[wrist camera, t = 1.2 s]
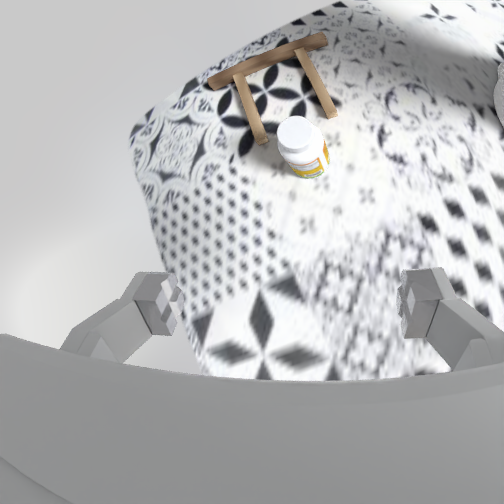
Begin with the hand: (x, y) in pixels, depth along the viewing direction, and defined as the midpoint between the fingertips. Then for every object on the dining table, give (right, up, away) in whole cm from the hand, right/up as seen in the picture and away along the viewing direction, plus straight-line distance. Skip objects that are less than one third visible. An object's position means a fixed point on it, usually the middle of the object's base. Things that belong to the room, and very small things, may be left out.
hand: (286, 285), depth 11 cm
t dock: (+3, +26, +31) cm, 41 cm away
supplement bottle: (+7, +13, +30) cm, 33 cm away
